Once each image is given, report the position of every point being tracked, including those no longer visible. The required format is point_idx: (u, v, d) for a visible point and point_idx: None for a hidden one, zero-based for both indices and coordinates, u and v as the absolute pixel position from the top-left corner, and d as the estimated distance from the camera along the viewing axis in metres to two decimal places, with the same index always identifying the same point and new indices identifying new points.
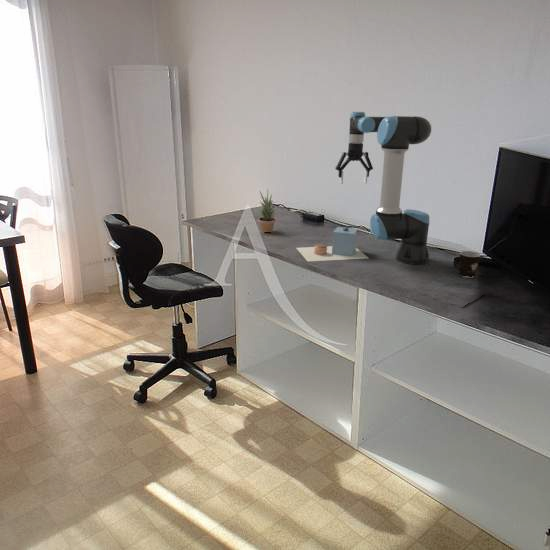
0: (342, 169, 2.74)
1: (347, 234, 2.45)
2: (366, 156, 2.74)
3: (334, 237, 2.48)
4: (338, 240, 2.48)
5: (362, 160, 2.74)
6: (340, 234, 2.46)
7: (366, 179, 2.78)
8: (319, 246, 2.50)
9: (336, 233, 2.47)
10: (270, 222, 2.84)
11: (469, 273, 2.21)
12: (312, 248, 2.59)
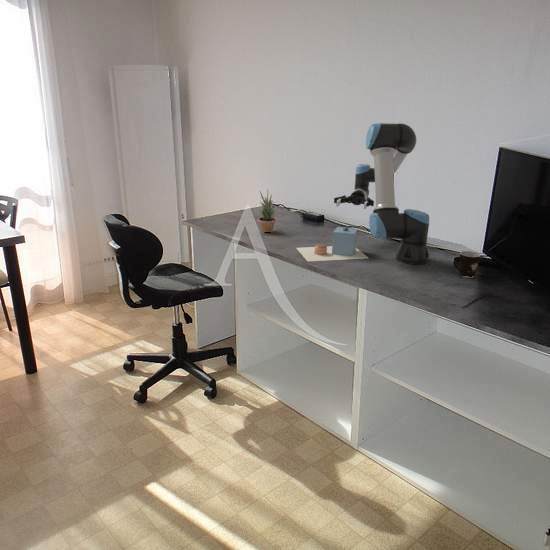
0: (340, 198, 2.65)
1: (347, 234, 2.45)
2: (367, 198, 2.67)
3: (334, 237, 2.48)
4: (338, 240, 2.48)
5: (362, 197, 2.66)
6: (340, 234, 2.46)
7: (365, 202, 2.56)
8: (319, 246, 2.50)
9: (336, 233, 2.47)
10: (270, 222, 2.84)
11: (469, 273, 2.21)
12: (312, 248, 2.59)
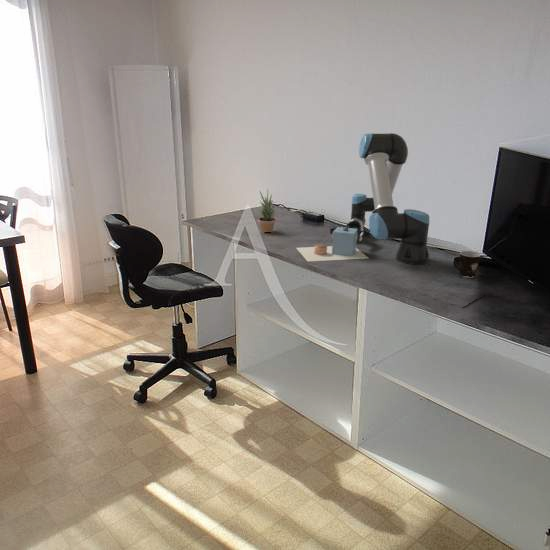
0: None
1: (347, 234, 2.45)
2: (363, 228, 2.69)
3: (334, 237, 2.48)
4: (338, 240, 2.48)
5: (358, 228, 2.67)
6: (340, 234, 2.46)
7: (361, 234, 2.58)
8: (319, 246, 2.50)
9: (336, 233, 2.47)
10: (270, 222, 2.84)
11: (469, 273, 2.21)
12: (312, 248, 2.59)
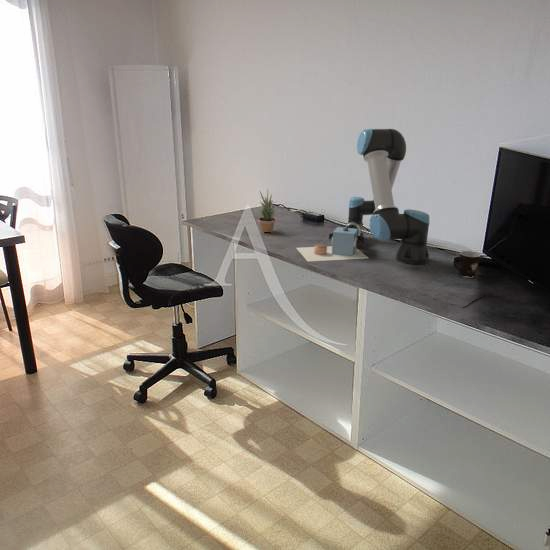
0: None
1: (347, 234, 2.45)
2: (360, 233, 2.59)
3: (334, 237, 2.48)
4: (338, 240, 2.48)
5: None
6: (340, 234, 2.46)
7: (355, 239, 2.48)
8: (319, 246, 2.50)
9: (336, 233, 2.47)
10: (270, 222, 2.84)
11: (469, 273, 2.21)
12: (312, 248, 2.59)
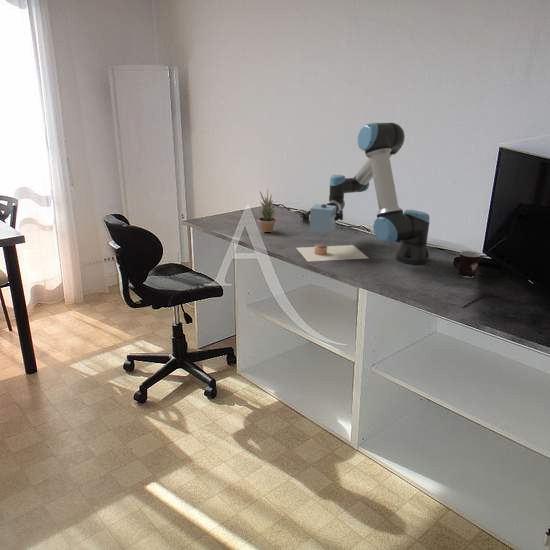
0: None
1: (325, 211, 2.40)
2: (339, 211, 2.53)
3: (312, 214, 2.42)
4: (316, 217, 2.42)
5: None
6: (318, 210, 2.41)
7: (333, 216, 2.42)
8: (319, 246, 2.50)
9: (314, 209, 2.41)
10: (270, 222, 2.84)
11: (469, 273, 2.21)
12: (312, 248, 2.59)
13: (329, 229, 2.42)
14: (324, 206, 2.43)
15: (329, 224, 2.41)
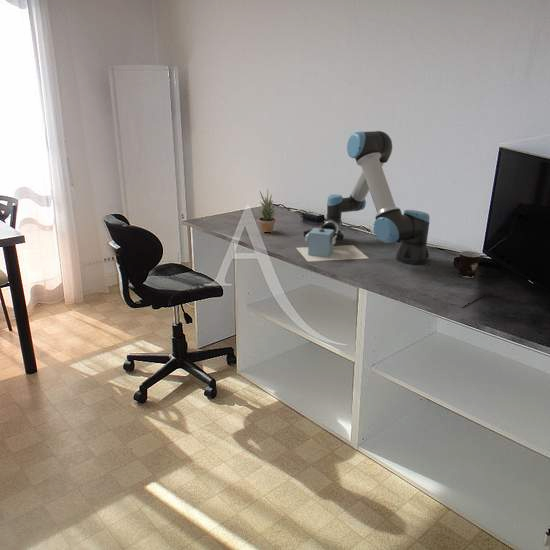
0: None
1: (323, 235, 2.43)
2: (338, 231, 2.57)
3: (310, 238, 2.46)
4: (314, 241, 2.45)
5: None
6: (316, 235, 2.44)
7: (334, 237, 2.45)
8: None
9: (312, 234, 2.45)
10: (270, 222, 2.84)
11: (469, 273, 2.21)
12: None
13: (327, 253, 2.45)
14: (322, 230, 2.47)
15: (327, 248, 2.44)
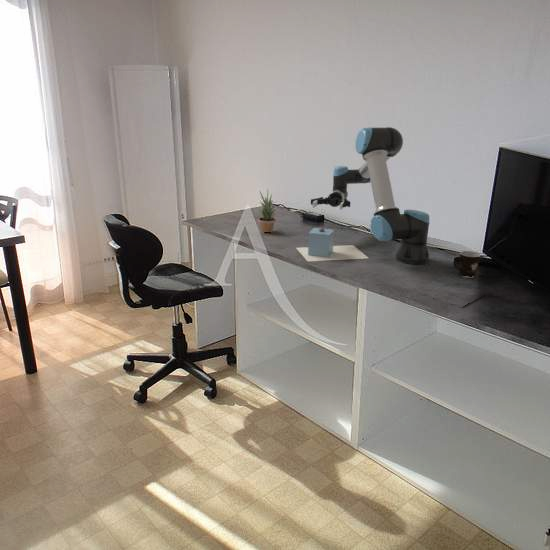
0: (316, 199, 2.63)
1: (323, 235, 2.43)
2: (344, 199, 2.65)
3: (310, 238, 2.46)
4: (314, 241, 2.45)
5: (339, 198, 2.64)
6: (316, 235, 2.44)
7: (341, 203, 2.54)
8: None
9: (312, 234, 2.45)
10: (270, 222, 2.84)
11: (469, 273, 2.21)
12: None
13: (327, 253, 2.45)
14: (322, 230, 2.47)
15: (327, 248, 2.44)
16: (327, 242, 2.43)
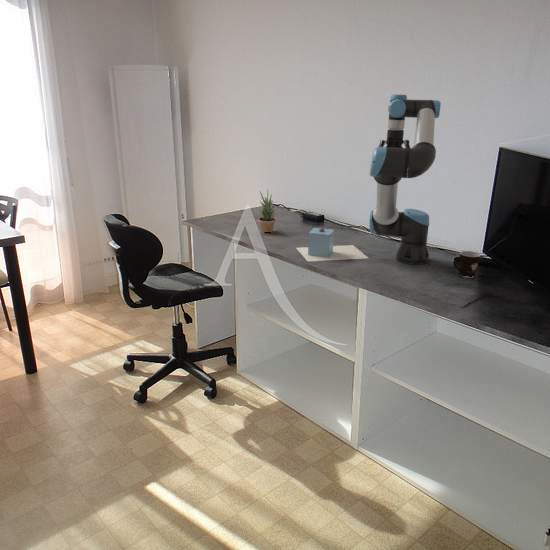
0: None
1: (323, 235, 2.43)
2: (407, 144, 2.46)
3: (310, 238, 2.46)
4: (314, 241, 2.45)
5: None
6: (316, 235, 2.44)
7: None
8: None
9: (312, 234, 2.45)
10: (270, 222, 2.84)
11: (469, 273, 2.21)
12: None
13: (327, 253, 2.45)
14: (322, 230, 2.47)
15: (327, 248, 2.44)
16: (327, 242, 2.43)
